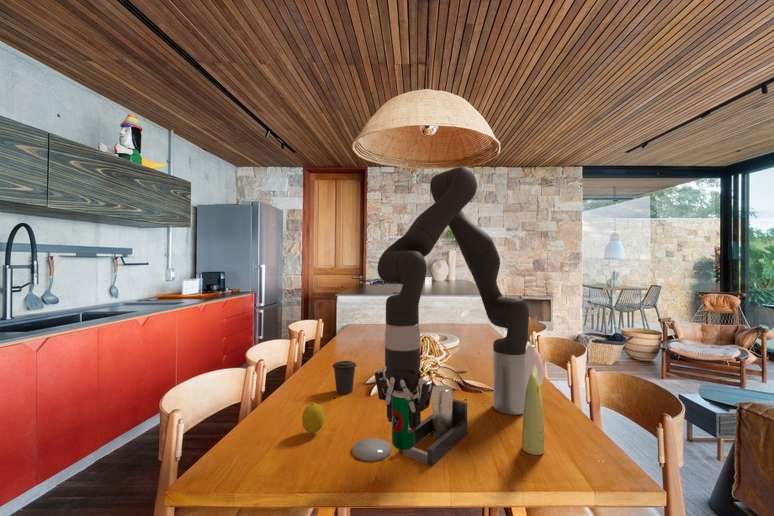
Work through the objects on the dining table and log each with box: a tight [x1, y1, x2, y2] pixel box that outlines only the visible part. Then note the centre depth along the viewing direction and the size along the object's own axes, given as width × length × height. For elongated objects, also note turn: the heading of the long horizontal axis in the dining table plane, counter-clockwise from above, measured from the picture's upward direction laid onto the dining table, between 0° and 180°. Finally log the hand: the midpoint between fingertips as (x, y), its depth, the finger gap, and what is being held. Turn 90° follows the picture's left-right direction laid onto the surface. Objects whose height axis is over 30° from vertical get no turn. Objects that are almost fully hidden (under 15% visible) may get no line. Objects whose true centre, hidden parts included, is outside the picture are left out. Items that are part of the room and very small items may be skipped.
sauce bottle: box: [526, 337, 545, 389], centre depth 121 cm, size 8×8×18 cm
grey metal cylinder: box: [432, 384, 454, 441], centre depth 89 cm, size 5×5×12 cm
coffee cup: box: [332, 360, 357, 396], centre depth 120 cm, size 8×8×10 cm
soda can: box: [391, 389, 416, 450], centre depth 75 cm, size 5×5×12 cm
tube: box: [521, 363, 545, 456], centre depth 83 cm, size 6×5×20 cm
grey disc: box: [351, 437, 392, 462], centre depth 83 cm, size 9×9×1 cm
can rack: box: [397, 398, 468, 467], centre depth 86 cm, size 18×9×8 cm, turn 143°
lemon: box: [301, 402, 325, 435], centre depth 91 cm, size 6×6×8 cm
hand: (403, 424), depth 75 cm, fingers closed on soda can, 5 cm apart
